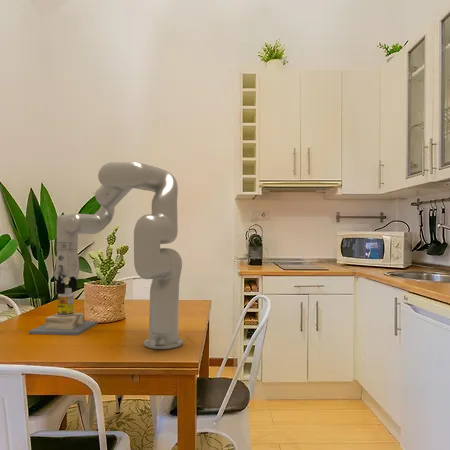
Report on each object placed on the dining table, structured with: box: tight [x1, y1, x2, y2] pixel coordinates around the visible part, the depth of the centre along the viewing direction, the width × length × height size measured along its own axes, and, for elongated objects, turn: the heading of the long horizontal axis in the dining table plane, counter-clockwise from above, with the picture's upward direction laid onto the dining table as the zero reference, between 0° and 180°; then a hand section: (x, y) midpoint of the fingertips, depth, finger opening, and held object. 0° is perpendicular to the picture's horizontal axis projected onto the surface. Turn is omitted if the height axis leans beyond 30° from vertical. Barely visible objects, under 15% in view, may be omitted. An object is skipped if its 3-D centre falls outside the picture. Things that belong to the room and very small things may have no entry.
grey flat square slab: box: [28, 320, 98, 336], centre depth 145 cm, size 18×18×1 cm
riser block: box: [44, 312, 85, 329], centre depth 145 cm, size 10×10×4 cm
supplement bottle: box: [57, 287, 75, 317], centre depth 145 cm, size 6×6×10 cm
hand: (66, 292), depth 145 cm, fingers open, 9 cm apart
